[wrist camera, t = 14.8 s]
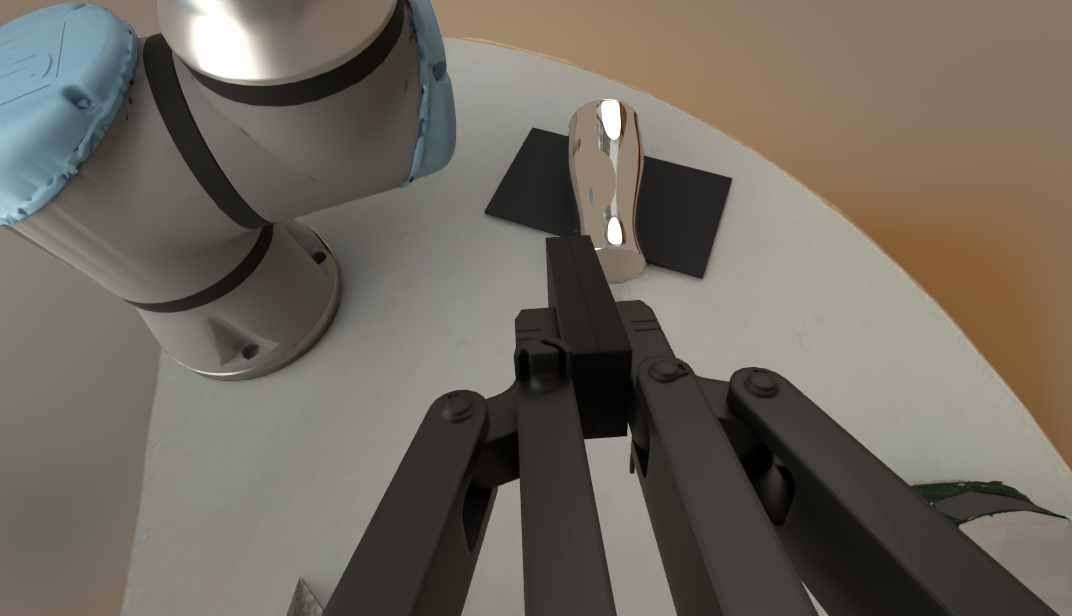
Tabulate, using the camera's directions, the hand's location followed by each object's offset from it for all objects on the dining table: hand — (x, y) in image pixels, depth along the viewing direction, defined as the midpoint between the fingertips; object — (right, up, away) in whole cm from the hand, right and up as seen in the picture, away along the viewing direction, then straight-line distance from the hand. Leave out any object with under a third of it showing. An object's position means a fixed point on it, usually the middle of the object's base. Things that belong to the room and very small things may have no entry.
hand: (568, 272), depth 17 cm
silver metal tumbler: (+5, +2, +23) cm, 24 cm away
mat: (+6, +9, +31) cm, 33 cm away
